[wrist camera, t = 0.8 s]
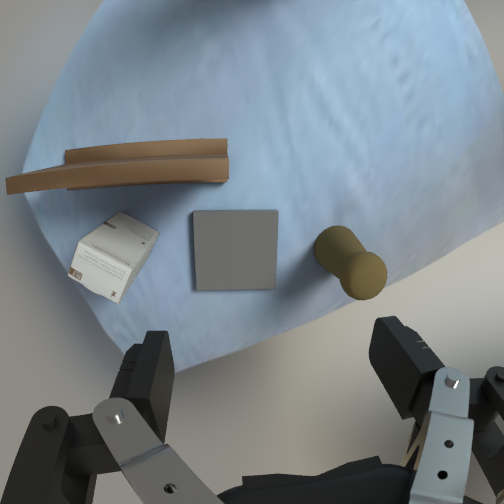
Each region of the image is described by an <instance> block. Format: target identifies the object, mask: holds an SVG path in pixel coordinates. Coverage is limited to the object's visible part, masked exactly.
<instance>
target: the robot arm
mask: <svg viewBox="0 0 504 504" xmlns="http://www.w3.org/2000/svg"><path fill="white" fill-rule="evenodd" d="M369 359H370V363H371V365H372V366H373V368H374V370H375V372H376V374H377V375H378V377H379V379H380V381H381V382H382V384H383V386H384V388H385V389H386V391H387V393H388V394H389V396H390V398H391V400H392V402H393V403H394V405H395V407H396V409H397V410H398V412H399V414H400V416H401V418H402V419H407V418H411V417H414V418H415V422H414V424H413V427H412V430H411V434H410V437H409V440H408V444H407V447H406V450H405V453H404V456H403V459H402V462H401V464H400V466H399V465H393V464H382V463H381V461H380V458H379V456H374V457H370V458H366V459H362V460H358V461H353V462H348V463H346V464H344V465H341V466H339V467H337V468H334V469H332V470H330V471H327V472H325V473H322V474H320V475H317V476H302V475H288V474H269V475H255V476H242V482H243V485H241V486H237V487H234V488H231V489H228V490H226V491H224V492H222V493H220V494H218V495H217V496H216V495H215V494H214V493H213V492H212V491H211V490H210V489H209V488H208V487H207V486H206V485H205V484H204V483H203V482H202V481H201V480H200V479H199V478H198V476H197V475H196V474H195V473H194V472H193V471H192V470H191V469H190V468H189V467H188V466H187V464H186V463H185V462H184V461H183V460H182V459H181V458H180V456H179V455H178V454H177V453H176V452H175V451H174V450H173V448H172V447H170V446H169V445H168V444H166V445H164V442H165V435H166V428H167V421H168V414H169V408H170V401H171V394H172V388H173V382H174V362H173V356H172V351H171V345H170V340H169V334H168V332H167V331H147V333H146V336H145V338H144V341H143V344H134V345H133V346H132V347H131V348H130V349H129V350H128V351H127V352H126V354H125V356H124V359H123V363H122V364H121V367H120V371H119V372H118V375H117V378H116V380H115V383H114V386H113V389H112V391H111V394H110V397H109V399H107V400H104V401H102V402H100V403H99V404H98V405H97V406H96V407H95V409H94V411H93V413H91V414H86V415H80V416H71V417H69V416H68V414H67V413H66V411H65V410H64V409H62V408H60V407H57V406H48V407H44V408H42V409H40V410H39V411H37V412H36V413H35V414H34V415H33V417H32V419H31V421H30V423H29V426H28V428H27V430H26V433H25V435H24V438H23V440H22V443H21V445H20V448H19V451H18V453H17V456H16V458H15V461H14V464H13V466H12V469H11V472H10V475H9V478H8V481H7V484H6V487H5V490H4V493H3V496H2V499H1V502H0V504H92V502H93V496H94V490H95V484H96V479H97V474H103V473H111V472H117V471H122V473H123V474H124V476H125V478H126V479H127V480H128V482H129V484H130V485H131V487H132V488H133V490H134V491H135V492H136V494H137V495H138V497H139V498H140V500H141V501H142V502H143V504H483V503H480V502H478V501H475V500H473V499H471V498H469V497H467V496H464V492H465V486H466V481H467V475H468V468H469V462H470V455H471V450H472V452H473V453H474V455H475V457H476V459H477V461H478V463H479V465H480V466H481V468H482V470H483V472H484V474H485V476H486V478H487V480H488V482H489V484H490V486H491V487H492V489H493V491H494V493H495V496H496V504H504V435H503V434H502V432H501V430H500V429H499V427H498V426H497V424H496V423H495V420H496V418H497V416H498V415H499V414H500V416H501V417H502V419H503V420H504V368H503V367H498V366H495V367H492V368H490V369H489V370H488V371H487V373H486V375H485V377H484V378H475V379H469V378H468V376H467V375H466V374H465V373H464V372H463V371H461V370H460V369H457V368H454V367H445V366H444V365H443V363H442V362H441V361H440V359H439V358H438V357H437V356H436V355H435V353H434V352H433V351H432V350H431V349H430V348H428V345H427V344H426V343H425V341H424V342H423V339H422V338H421V337H420V336H419V334H418V333H417V332H415V331H414V330H412V329H411V328H409V327H407V326H404V325H403V324H402V323H401V322H400V321H399V319H398V318H397V317H396V316H389V317H382V318H377V319H376V321H375V324H374V329H373V334H372V338H371V343H370V347H369Z"/></svg>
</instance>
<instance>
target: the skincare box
mask: <svg viewBox="0 0 504 504" xmlns="http://www.w3.org/2000/svg"><path fill="white" fill-rule="evenodd" d="M158 236H159V233H158V232H157V231H156V230H154V229H153V228H151V227H149V226H147V225H146V224H144V223H142V222H140V221H138V220H136V219H135V218H133V217H131V216H129V215H127V214H125V213H122V212H118V213H117V214H115V215H114V216H112V217H111V218H110V219H108V220H107V221H105V222H104V223H103V224H101V225H100V226H99V227H97V228H96V229H95V230H93V231H92V232H90V233H89V234H88V235H86V236H85V237H84V238H82V239H81V240H80V241H79V242H78V244H77V247H76V250H75V253H74V257H73V260H72V263H71V266H70V269H69V272H68V276H69V277H70V278H72V279H74V280H75V281H77V282H79V283H81V284H82V285H84V286H85V287H86V288H87V289H89V290H90V291H92V292H94V293H96V294H99V295H102V296H104V297H105V298H107V299H109V300H111V301H113V302H115V303H116V304H119V303H120V301H121V299H122V297H123V296H124V294H125V293H126V292H127V290H128V288H129V287H130V285H131V284H132V282H133V281H134V279H135V277H136V276H137V274H138V273H139V271H140V270H141V268H142V267H143V265H144V263H145V262H146V261H147V259H148V257H149V255H150V253H151V251H152V249H153V247H154V245H155V242H156V240H157V238H158Z"/></svg>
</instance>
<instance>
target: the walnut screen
mask: <svg viewBox="0 0 504 504" xmlns="http://www.w3.org/2000/svg"><path fill="white" fill-rule="evenodd" d="M65 163H66V164H65V165H60V166H55V167H51V168H46V169H42V170H37V171H33V172H29V173H24V174H20V175H17V176H12V177H9V178H6V188H7V194H8V195H9V194H17V193H25V192H33V191H41V190H50V189H59V188H67V190H76V189H87V188H100V187H114V186H129V185H148V184H170V183H203V182H227V179H229V158H228V155H227V139H186V140H165V141H149V142H136V143H124V144H114V145H104V146H95V147H87V148H79V149H71V150H65Z"/></svg>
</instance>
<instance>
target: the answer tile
mask: <svg viewBox="0 0 504 504" xmlns="http://www.w3.org/2000/svg"><path fill="white" fill-rule="evenodd" d="M193 225H194V249H195V269H196V286H197V290H243V289H275V288H276V265H277V239H278V210H196V211H193Z"/></svg>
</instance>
